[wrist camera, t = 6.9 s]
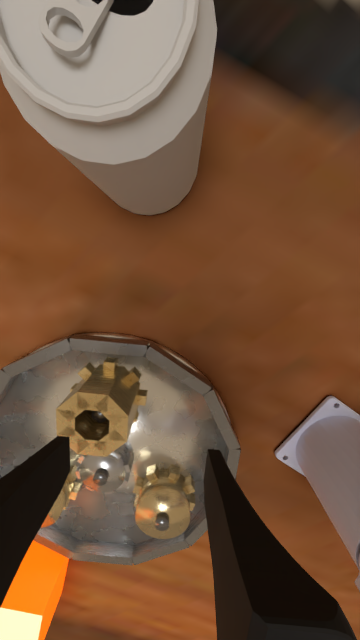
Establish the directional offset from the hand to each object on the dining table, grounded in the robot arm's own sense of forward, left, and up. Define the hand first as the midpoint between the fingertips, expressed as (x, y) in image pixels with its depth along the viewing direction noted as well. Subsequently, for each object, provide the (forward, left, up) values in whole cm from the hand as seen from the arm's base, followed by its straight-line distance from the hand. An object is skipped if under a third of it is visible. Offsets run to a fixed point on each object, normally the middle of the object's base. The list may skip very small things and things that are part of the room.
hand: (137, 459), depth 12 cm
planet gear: (+3, +3, -9) cm, 10 cm away
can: (+10, -14, -10) cm, 20 cm away
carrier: (-1, +9, -10) cm, 14 cm away
